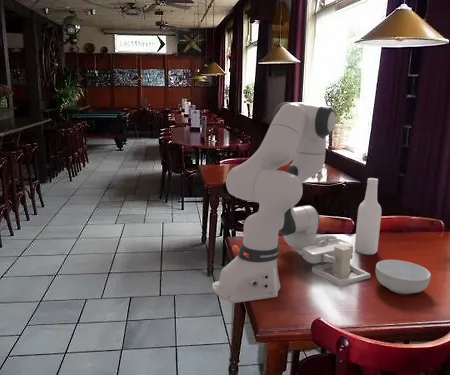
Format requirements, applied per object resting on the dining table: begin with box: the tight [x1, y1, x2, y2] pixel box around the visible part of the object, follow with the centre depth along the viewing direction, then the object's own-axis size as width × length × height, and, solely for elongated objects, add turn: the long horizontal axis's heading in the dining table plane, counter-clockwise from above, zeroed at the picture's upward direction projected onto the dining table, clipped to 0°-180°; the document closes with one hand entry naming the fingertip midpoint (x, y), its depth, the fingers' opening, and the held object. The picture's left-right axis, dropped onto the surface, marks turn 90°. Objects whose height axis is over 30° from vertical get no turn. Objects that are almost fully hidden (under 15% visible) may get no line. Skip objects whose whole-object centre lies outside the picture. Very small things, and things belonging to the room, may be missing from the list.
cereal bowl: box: [374, 259, 432, 295], centre depth 143 cm, size 17×17×7 cm
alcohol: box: [354, 177, 383, 256], centre depth 173 cm, size 9×9×30 cm
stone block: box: [331, 245, 351, 278], centre depth 152 cm, size 4×4×10 cm
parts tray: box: [311, 262, 371, 287], centre depth 153 cm, size 14×14×2 cm
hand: (343, 259), depth 151 cm, fingers open, 6 cm apart
